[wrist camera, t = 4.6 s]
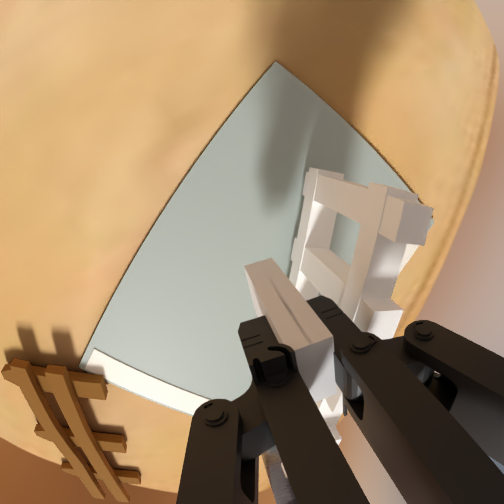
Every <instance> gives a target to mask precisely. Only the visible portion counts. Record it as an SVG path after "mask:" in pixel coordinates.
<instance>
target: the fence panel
mask: <svg viewBox="0 0 504 504" xmlns="http://www.w3.org/2000/svg"><path fill="white" fill-rule="evenodd" d="M343 178H344V174H341V173H337V172H333V171H328V170H322V169H317V168H312V167H309V172H306V176H305V182H304V188H303V194H302V195H303V196H305V197H304V203H303V208H302V214H301V219H300V225H299V230H298V236H297V238H296V237H295V238H294V244H293V249H292V254H291V260H292V261H293V262H292V267H291V272H290V277H289V280H290V281H291V283H292V284H293V285H294V286H295V288H296V289H297V290H298V291H299V293H300V294H301V295H302V297H303V298H304V299H305V300H309V299H312V298H315V297H318V294H319V293H320V294H321V295H323V296H325V297H327V298H330V299H332V300H333V301H334V302H335V303H336V304H337V305H338V307H339V308H340V309H341V310H342V311H343V313H345V314H346V315H347V316H348V317H349V318H350V319H351V320H352V322H353V323H354V324H355V325H356V326H357V327H358V328H359V329H360V330H361V331H362V332H368V333H372V334H375V335H376V336H378V337H379V338H380V339H382V340H383V339H391V338H393V336H394V333H395V331H396V328H397V326H398V323H399V321H400V318H401V315H402V313H403V309H402V308H401V307H400V306H398V305H397V304H396V303H395V302H394V301H393V300H391V299H390V298H391V295H392V292H393V289H394V286H395V283H396V280H397V277H398V274H399V270H400V267H401V263H402V260H403V256H404V253H405V249H406V246H407V244H414V245H422V246H424V245H425V241H426V237H427V233H428V229H429V225H430V221H431V217H432V213H433V208H432V207H429V206H426V205H423V204H420V203H418V202H417V199H418V194H415V193H412V192H408V191H405V190H402V189H398V188H394V187H390V186H386V185H382V184H377V183H373V182H369V186H364V185H361V184H357V183H354V182H350V181H347V180H343ZM337 212H338V213H340V214H342V215H344V216H346V217H348V218H350V219H352V220H354V221H356V222H358V223H360V224H361V225H360V230H359V234H358V238H357V243H356V247H355V251H354V255H353V259H352V263H351V266H350V265H349V264H348V263H346V262H345V261H344V260H343V259H341V258H340V257H339V256H338V255H336V254H335V253H334V252H332V251H331V250H330V249H329V248H330V243H331V239H332V234H333V229H334V225H335V220H336V215H337ZM315 403H316V405H317V407H318V409H319V411H320V413H321V414H322V416H323V418H324V420H325V422H326V424H327V426H328V428H329V429H330V431H331V433H332V435H333V437H334V439H335V441H336V442H337V444H339V443H340V441H341V440H342V438H341V436H340V434H339V432H338V431H337V429H336V427H335V426H336V424H337V423H338V421H339V419H340V417H341V415H342V413H343V396H342V391H341V390H340V388H339V387H338V385H337V394H334V395H332V396H329V397H327V398H325V399H322V400H320V401H317V402H315ZM347 410H348V409H347ZM281 466H282V469H283V472H284V474H285V477H286V478H287V474H286V472H285V469H284V466H283V464H282V463H281Z"/></svg>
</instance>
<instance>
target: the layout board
mask: <svg viewBox="0 0 504 504" xmlns="http://www.w3.org/2000/svg"><path fill="white" fill-rule="evenodd" d="M309 167H312V168H317V169H322V170H328V171H333V172H337V173H341V174H344V178H343V180H347V181H350V182H354V183H357V184H361V185H364V186H369V182H373V183H377V184H382V185H386V186H390V187H394V188H398V189H402V190H405V191H408V192H411V191H410V190H409V189H408V187H407V186H406V185H405V184H404V183H403V181H402V180H401V179H400V178H399V177H398V176H397V174H396V173H395V172H394V171H393V170H392V169H391V168H390V167H389V165H388V164H387V163H386V162H385V161H384V160H383V159H382V158H381V157H380V155H379V154H378V153H377V152H376V151H375V150H374V149H373V148H372V147H371V146H370V145H369V144H368V143H367V142H366V141H365V140H364V139H363V138H362V137H361V136H360V135H359V134H358V133H357V132H356V131H355V130H354V129H353V128H352V127H351V126H350V125H349V124H348V123H347V122H346V121H345V120H344V119H343V118H342V117H341V116H340V115H339V114H338V113H337V112H336V111H335V110H333V109H332V108H331V107H330V106H329V105H328V104H327V103H326V102H325V101H324V100H322V99H321V98H320V97H319V96H318V95H317V94H316V93H314V92H313V91H312V90H311V89H310V88H309V87H307V86H306V85H305V84H304V83H303V82H301V81H300V80H299V79H298V78H297V77H295V76H294V75H293V74H292V73H290V72H289V71H288V70H287V69H285V68H284V67H283V66H281V65H280V64H279V63H277V62H274V64H273V65H272V66H271V67H270V68H269V69H268V70H267V72H266V73H265V74H264V75H263V76H262V77H261V79H260V80H259V81H258V82H257V83H256V85H255V86H254V87H253V88H252V89H251V91H250V92H249V93H248V94H247V95H246V97H245V98H244V99H243V100H242V102H241V103H240V104H239V105H238V107H237V108H236V109H235V110H234V112H233V113H232V114H231V116H230V117H229V118H228V119H227V121H226V122H225V123H224V125H223V126H222V127H221V129H220V130H219V131H218V132H217V134H216V135H215V136H214V138H213V139H212V141H211V142H210V143H209V145H208V146H207V147H206V149H205V150H204V151H203V153H202V154H201V156H200V157H199V158H198V160H197V161H196V163H195V164H194V165H193V167H192V168H191V170H190V171H189V173H188V174H187V176H186V177H185V178H184V180H183V181H182V183H181V184H180V186H179V187H178V189H177V190H176V192H175V193H174V195H173V196H172V198H171V199H170V201H169V202H168V204H167V205H166V207H165V209H164V210H163V212H162V213H161V215H160V216H159V218H158V220H157V221H156V223H155V224H154V226H153V228H152V229H151V231H150V232H149V234H148V236H147V237H146V239H145V241H144V242H143V244H142V246H141V247H140V249H139V251H138V252H137V254H136V256H135V258H134V259H133V261H132V263H131V264H130V266H129V268H128V270H127V271H126V273H125V275H124V277H123V279H122V280H121V282H120V284H119V286H118V288H117V290H116V291H115V293H114V295H113V297H112V299H111V301H110V303H109V305H108V306H107V308H106V310H105V312H104V314H103V316H102V318H101V320H100V322H99V324H98V326H97V328H96V330H95V332H94V334H93V336H92V338H91V340H90V343H89V345H88V347H87V349H86V351H85V353H84V355H83V357H82V360H81V362H80V364H79V368H81V369H83V370H85V371H87V372H89V373H91V374H99V375H103V377H104V380H105V381H107V382H109V383H111V384H113V385H116V386H118V387H120V388H122V389H124V390H127V391H129V392H131V393H133V394H136V395H138V396H140V397H143V398H145V399H148V400H150V401H153V402H155V403H158V404H160V405H163V406H166V407H168V408H171V409H174V410H176V411H179V412H182V413H185V414H188V415H191V416H193V415H194V413H195V410H196V409H197V408H198V407H199V406H200V405H201V404H203V403H205V402H207V401H209V400H213V399H227V400H229V401H233V400H235V399H236V398H238V397H240V396H241V395H242V394H244V393H245V392H246V391H247V390H248V389H249V387H250V385H251V382H252V375H251V372H250V369H249V365H248V362H247V359H246V356H245V353H244V350H243V347H242V344H241V341H240V338H239V334H238V329H239V326H240V323H241V322H245V321H248V320H251V319H254V318H257V317H258V316H257V314H256V311H255V307H254V304H253V300H252V296H251V292H250V288H249V284H248V281H247V277H246V273H245V269H244V266H245V265H248V264H252V263H255V262H258V261H262V260H265V259H268V258H273V260H274V261H275V262H276V264H277V265H278V266H279V267H280V269H281V270H282V271H283V272H284V274H285V275H286V276H287V277H288V279H289V277H290V272H291V267H292V262H293V261H292V260H291V254H292V249H293V244H294V238H295V237H296V238H297V236H298V230H299V225H300V219H301V214H302V208H303V203H304V197H305V196H303V195H302V194H303V188H304V182H305V176H306V172H309ZM417 202H418V203H420V202H419V201H418V200H417ZM433 223H434V221H433V219H432V218H431V221H430V225H429V229H430V228H431V226H432V225H433ZM360 225H361V224H360V223H358V222H356V221H354V220H352V219H350V218H348V217H346V216H344V215H342V214H340V213H338V212H337V215H336V220H335V225H334V229H333V234H332V239H331V243H330V248H329V249H330V250H331V251H332V252H334V253H335V254H336V255H338V256H339V257H340V258H341V259H343V260H344V261H345V262H346V263H348V264H349V265H350V266H351V263H352V259H353V255H354V251H355V247H356V243H357V238H358V234H359V230H360ZM429 229H428V231H429ZM418 246H419V245H414V244H407V246H406V249H405V253H404V256H403V260H402V263H401V267H400V270H399V273H400V272H401V270H402V269H403V268H404V266H405V265H406V263H407V262H408V261H409V259H410V258H411V256H412V255H413V253H414V252H415V250H416V249H417V248H418ZM318 296H321V294H320V293H319V294H318Z"/></svg>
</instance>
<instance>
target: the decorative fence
mask: <svg viewBox="0 0 504 504" xmlns="http://www.w3.org/2000/svg"><path fill="white" fill-rule="evenodd" d="M1 373H2V375H3V377H4V379H6V380H8V381H10V382H11V383H13V384H15V385H17V386H19V387H20V389H21V391H22V393H23V395H24V396H25V398H26V400H27V402H28V404H29V406H30V407H31V409H32V411H33V413H34V415H35V416H36V418H37V420H38V421H39V423H40V424H36V427H35V430H34V432H35V433H36V435H37V436H39V437H41V438H44V439H46V440H49V441H52V442H54V444H55V445H56V446H57V448H58V449H59V450H60V452H61V453H62V454H63V455H64V457H65V458H66V459H67V460H68V461H69V462H62V465H61V469H62V471H64V472H66V473H69V474H72V475H75V476H79V478H80V479H81V481H82V482H83V484H84V485H85V486H86V488H87V489H88V491H89V492H90V493H91V495H92V496H93V497H94V498H98V499H105V493H104V491H103V490H102V488H101V487H100V485H99V483H98V482H97V480H96V479H98V480H102V481H103V482H104V483H105V485H106V486H107V488H108V489H109V490H110V492H111V493H112V494H113V496H114V497H115V498H116V500H117V501H119V502H128V503H129V502H130V497H129V495H128V494H127V492H126V491H125V489H124V488H123V486H122V484H121V483H130V484H141V477H140V475H139V473H138V471H127V470H118V469H112V468H111V466H110V465H109V463H108V461H107V459H106V458H105V456H104V454H103V452H102V451H101V450H103V451H112V452H121V453H126V448H127V445H126V442H125V439H124V437H123V435H115V434H105V433H97V432H91V430H90V428H89V426H88V424H87V421H86V419H85V417H84V414H83V412H82V409H81V407H80V404H79V402H78V399H77V397H83V398H91V399H100V400H106V397H107V392H108V390H107V387H106V384H105V380H104V377H103V375H99V374H89V373H80V372H71V371H67V368H66V367H64V366H56V365H49V364H48V365H47V368H43V367H37V366H32V365H31V364H30V362H29V361H25V360H20V359H13V361H12V362H11V363H10V364H6V365H5V366H4V367H3V369H2V371H1ZM43 391H45V392H50V393H53V394H54V396H55V399H56V401H57V403H58V405H59V407H60V409H61V411H62V413H63V415H64V417H65V419H66V421H67V423H68V425H69V427H70V428H65V427H61V425H60V424H59V422H58V420H57V419H56V417H55V415H54V413H53V411H52V410H51V408H50V406H49V404H48V402H47V400H46V398H45V396H44V393H43ZM75 446H77V447H81V448H82V450H83V452H84V453H85V455H86V456H87V458H88V460H89V461H90V463H91V464H92V466H89V465H87V463H86V461H85V460H84V458H83V456H82V455H81V454H80V452H79V451H78V450H77V448H76V447H75Z"/></svg>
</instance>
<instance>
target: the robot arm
mask: <svg viewBox="0 0 504 504" xmlns="http://www.w3.org/2000/svg"><path fill="white" fill-rule="evenodd" d="M244 269H245V273H246V277H247V281H248V284H249V288H250V292H251V296H252V300H253V304H254V307H255V311H256V314H257V316H258V317H257V318H254V319H251V320H248V321H245V322H241V323H240V326H239V329H238V334H239V338H240V341H241V344H242V347H243V350H244V353H245V356H246V359H247V362H248V365H249V369H250V372H251V375H252V382H251V385H250V387H249V389H248V390H247V391H246V392H245V393H244V394H242V395H241V396H240V397H238V398H236V399H235V400H233V401H229V400H227V399H213V400H209V401H207V402H205V403H203V404H201V405H200V406H199V407H198V408H197V409H196V410H195V413H194V415H193V417H192V422H191V427H190V432H189V437H188V443H187V448H186V453H185V458H184V463H183V469H182V474H181V480H180V485H179V491H178V496H177V502H176V504H258V477H259V455H261V454H263V453H264V452H266V451H267V450H269V449H270V448H272V447H273V446H275V445H276V447H277V450H278V453H279V455H280V458H281V461H282V464H283V466H284V469H285V472H286V474H287V477H288V480H289V482H290V485H291V488H292V490H293V493H294V495H295V498H296V501H297V503H298V504H370V503H369V501H368V499H367V498H366V496H365V494H364V492H363V490H362V489H361V487H360V485H359V483H358V481H357V480H356V478H355V476H354V474H353V472H352V470H351V468H350V467H349V465H348V463H347V461H346V459H345V457H344V456H343V454H342V452H341V450H340V448H339V446H338V444H337V442H336V441H335V439H334V437H333V435H332V433H331V431H330V429H329V428H328V426H327V424H326V422H325V420H324V418H323V416H322V414H321V413H320V411H319V409H318V407H317V405H316V403H315V402H317V401H320V400H322V399H325V398H327V397H329V396H332V395H334V394H337V385H338V387H339V388H340V390H341V391H342V396H343V414H344V416H346V415H347V409H348V411H349V413H350V414H351V416H352V417H353V419H354V420H355V422H356V423H357V425H358V427H359V428H360V430H361V431H362V433H363V435H364V436H365V438H366V439H367V441H368V443H369V444H370V446H371V447H372V449H373V451H374V452H375V453H376V455H377V457H378V458H379V460H380V462H381V463H382V465H383V466H384V468H385V469H386V471H387V472H388V474H389V476H390V477H391V479H392V480H393V482H394V484H395V485H396V487H397V488H398V490H399V491H400V493H401V495H402V496H403V498H404V499H405V501H406V502H407V504H504V474H503V473H502V472H501V471H500V470H499V468H498V467H497V466H496V465H495V464H494V462H493V461H492V460H491V459H490V458H489V457H488V456H490V457H491V458H493V459H494V460H496V461H498V462H499V463H501V464H502V465H504V358H503V357H501V356H499V355H497V354H496V353H494V352H492V351H490V350H487V349H486V348H484V347H482V346H480V345H478V344H476V343H474V342H472V341H470V340H468V339H466V338H464V337H462V336H460V335H458V334H456V333H454V332H452V331H450V330H448V329H446V328H444V327H442V326H440V325H438V324H437V323H434V322H431V321H428V320H419V321H415V322H412V323H411V324H409V325H408V326H407V327H406V329H405V332H404V336H401V337H396V338H391V339H383V340H382V339H380V338H379V337H378V336H376V335H375V334H372V333H368V332H362V331H361V330H360V329H359V328H358V327H357V326H356V325H355V324H354V323H353V322H352V320H351V319H350V318H349V317H348V316H347V315H346V314H345V313H343V311H342V310H341V309H340V308H339V307H338V305H337V304H336V303H335V302H334V301H333V300H332V299H330V298H327V297H325V296H323V295H321V296H318V297H315V298H312V299H309V300H305V299H304V298H303V297H302V295H301V294H300V293H299V291H298V290H297V289H296V288H295V286H294V285H293V284H292V283H291V281H290V280H289V279H288V277H287V276H286V275H285V274H284V272H283V271H282V270H281V269H280V267H279V266H278V265H277V264H276V262H275V261H274V260H273V258H268V259H265V260H262V261H258V262H255V263H252V264H248V265H245V266H244ZM434 371H436V372H438V373H440V374H437V373H435V372H434Z"/></svg>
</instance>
